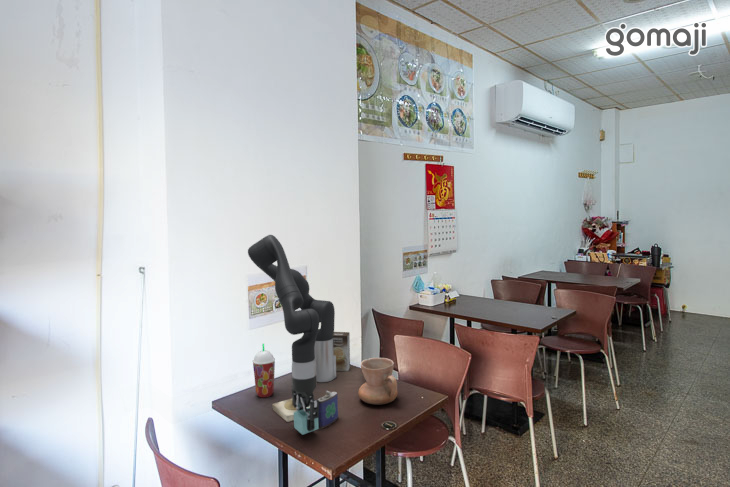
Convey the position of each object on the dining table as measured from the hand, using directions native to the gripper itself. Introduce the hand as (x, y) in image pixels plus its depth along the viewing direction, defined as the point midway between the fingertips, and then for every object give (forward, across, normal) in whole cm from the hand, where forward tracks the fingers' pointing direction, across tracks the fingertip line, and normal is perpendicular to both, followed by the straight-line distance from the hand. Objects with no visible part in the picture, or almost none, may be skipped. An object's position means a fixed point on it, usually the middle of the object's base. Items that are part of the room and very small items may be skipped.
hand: (306, 425), depth 132 cm
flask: (+3, +2, -9) cm, 10 cm away
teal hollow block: (+1, 0, 0) cm, 1 cm away
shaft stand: (+3, +17, -5) cm, 18 cm away
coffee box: (+3, +42, -39) cm, 58 cm away
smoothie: (+3, +37, -2) cm, 37 cm away
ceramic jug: (+3, +5, -33) cm, 33 cm away
